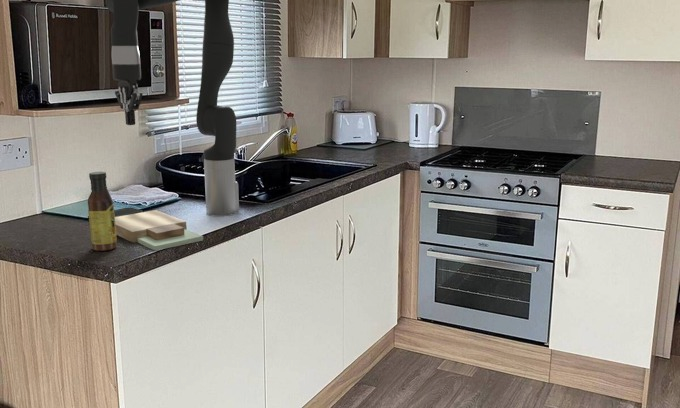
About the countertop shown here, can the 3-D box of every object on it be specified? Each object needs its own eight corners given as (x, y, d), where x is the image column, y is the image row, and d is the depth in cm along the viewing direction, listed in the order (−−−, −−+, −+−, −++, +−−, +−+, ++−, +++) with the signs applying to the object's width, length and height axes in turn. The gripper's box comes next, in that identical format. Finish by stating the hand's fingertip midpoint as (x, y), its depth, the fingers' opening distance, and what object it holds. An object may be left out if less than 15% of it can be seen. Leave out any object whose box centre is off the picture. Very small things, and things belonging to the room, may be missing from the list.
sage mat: (184, 232, 191) (184, 228, 191) (203, 240, 184) (203, 236, 184) (137, 242, 182) (137, 238, 182) (155, 250, 175) (155, 246, 175)
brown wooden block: (173, 230, 189) (173, 223, 189) (184, 234, 185) (184, 227, 184) (146, 235, 184) (146, 228, 183) (157, 240, 180) (156, 233, 179)
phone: (143, 210, 213) (100, 220, 202) (143, 214, 213) (100, 223, 202) (129, 207, 218) (85, 215, 207) (129, 210, 218) (86, 219, 207)
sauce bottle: (119, 249, 176) (113, 173, 171) (94, 253, 173) (87, 176, 168) (114, 243, 181) (108, 169, 177) (89, 246, 178) (82, 171, 174)
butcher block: (156, 219, 205) (155, 210, 205) (186, 231, 192) (186, 221, 192) (104, 229, 195) (103, 219, 194) (133, 242, 182) (132, 231, 181)
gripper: (149, 62, 188) (153, 125, 192) (128, 61, 198) (132, 121, 202) (123, 63, 183) (128, 128, 187) (103, 62, 193) (108, 123, 197)
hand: (130, 124), depth 195 cm, fingers closed
